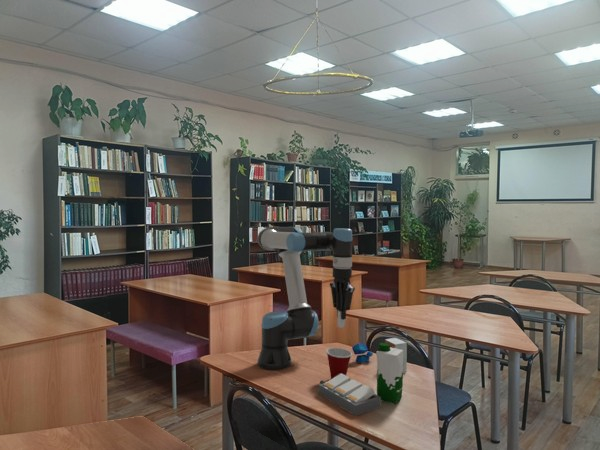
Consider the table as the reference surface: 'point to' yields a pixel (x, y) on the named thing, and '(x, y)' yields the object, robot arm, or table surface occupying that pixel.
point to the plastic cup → (338, 361)
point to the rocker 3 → (360, 394)
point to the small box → (399, 345)
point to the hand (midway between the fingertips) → (341, 326)
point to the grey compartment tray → (348, 405)
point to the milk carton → (389, 373)
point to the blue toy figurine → (361, 350)
